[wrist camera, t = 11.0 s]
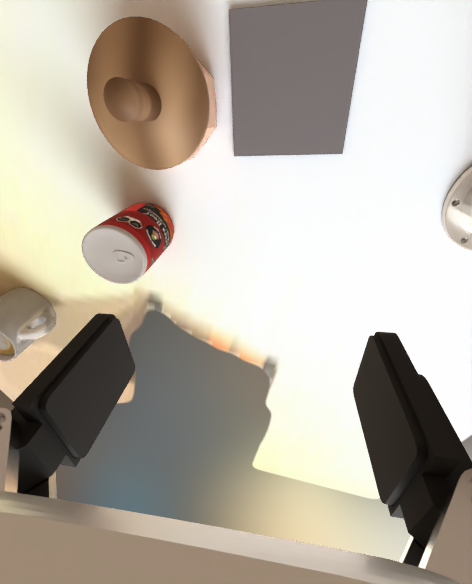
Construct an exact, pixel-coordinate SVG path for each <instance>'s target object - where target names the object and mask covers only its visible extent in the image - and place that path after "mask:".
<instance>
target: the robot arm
mask: <svg viewBox="0 0 472 584" xmlns="http://www.w3.org/2000/svg"><path fill="white" fill-rule="evenodd" d="M453 201H454V202H453ZM442 224H443V228H444V230H445V232H446V234H447V236H448V237H449V238H450V239H451V240H452V241H453V242H455V243H456V244H457V245H459V246H461V247H463V248H466V249H468V250H472V166H471V167H470V168H469V169H468V170H467V171H465V172H464V173H463V174H462V176H461V177H460V178H459V179H458V180H457V181H456V182H455V184H454V185H453V187H452V189H451V190H450V192H449V193H448V195H447V198H446V200H445V202H444V206H443V210H442ZM134 371H135V364H134V361H133V358H132V355H131V352H130V349H129V347H128V344H127V341H126V338H125V335H124V332H123V329H122V327H121V324H120V321H119V319H117V318H116V317H115V316H114V315H113V314H100V313H99V314H96V315H95V316H94V317H93V318H92V319H91V320H90V321H89V322H88V324H87V325H86V326H85V327H84V328H83V329H82V330H81V331H80V332H79V333H78V334H77V335H76V336H75V337H74V338H73V339H72V340H71V342H70V343H69V344H68V345H67V346H66V347H65V348H64V349H63V350H62V351H61V352H60V353H59V354H58V355H57V356H56V357H55V359H54V360H53V361H52V362H51V363H50V364H49V365H48V366H47V367H46V368H45V369H44V370H43V371H42V372H41V373H40V374H39V375H38V377H37V378H36V379H35V380H34V381H33V382H32V383H31V384H30V385H29V386H28V387H27V388H26V389H25V390H24V391H23V392H22V394H21V395H20V396H19V397H18V398H17V399H16V400H15V401H14V402H13V403H12V404H13V405H14V409H13V410H12V411H11V412H10V411H9V410H8V409H5V408H0V584H472V461H471V459H470V458H469V456H468V454H467V452H466V450H465V448H464V447H463V445H462V443H461V441H460V439H459V438H458V436H457V434H456V432H455V430H454V428H453V427H452V425H451V423H450V421H449V419H448V418H447V416H446V414H445V412H444V410H443V408H442V407H441V405H440V403H439V401H438V399H437V397H436V396H435V394H434V392H433V390H432V388H431V387H430V385H429V383H428V381H427V380H426V378H425V377H424V376H422V375H420V374H418V373H417V371H416V369H415V368H414V366H413V364H412V362H411V360H410V358H409V356H408V354H407V352H406V350H405V349H404V347H403V345H402V343H401V341H400V339H399V337H398V336H397V334H395V333H387V332H376V333H375V335H374V336H370V337H369V339H368V342H367V345H366V348H365V351H364V355H363V358H362V361H361V364H360V367H359V370H358V374H357V377H356V380H355V383H354V387H353V393H354V398H355V402H356V406H357V410H358V414H359V418H360V421H361V425H362V429H363V433H364V437H365V441H366V445H367V449H368V453H369V457H370V461H371V464H372V468H373V472H374V476H375V480H376V484H377V488H378V492H379V495H380V499H381V501H382V502H383V503H384V504H388V508H389V512H390V515H391V516H392V517H398V518H404V520H405V523H406V527H407V530H408V533H409V534H410V535H411V536H410V538H409V541H408V543H407V545H406V548H405V550H404V552H403V554H402V556H401V559H400V561H399V562H397V561H393V560H389V559H385V558H379V557H375V556H370V555H365V554H360V553H355V552H350V551H345V550H340V549H335V548H329V547H325V546H320V545H314V544H309V543H303V542H298V541H292V540H287V539H281V538H276V537H270V536H265V535H259V534H254V533H248V532H243V531H237V530H232V529H226V528H220V527H215V526H209V525H204V524H198V523H192V522H186V521H181V520H175V519H169V518H164V517H158V516H153V515H147V514H141V513H135V512H130V511H124V510H118V509H112V508H106V507H101V506H94V505H89V504H83V503H77V502H71V501H65V500H59V499H57V498H56V474H55V471H56V469H57V468H58V466H59V465H60V464H62V465H66V466H72V467H76V466H77V464H78V462H79V461H80V459H81V458H83V457H85V456H86V455H87V453H88V452H89V450H90V448H91V446H92V445H93V443H94V441H95V440H96V438H97V436H98V434H99V433H100V431H101V429H102V427H103V426H104V424H105V422H106V420H107V419H108V417H109V415H110V413H111V412H112V410H113V408H114V407H115V405H116V403H117V402H118V400H119V398H120V396H121V395H122V393H123V391H124V389H125V388H126V386H127V384H128V383H129V381H130V379H131V377H132V376H133V374H134Z"/></svg>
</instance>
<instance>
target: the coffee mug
mask: <svg viewBox="0 0 472 584" xmlns="http://www.w3.org/2000/svg"><path fill="white" fill-rule="evenodd" d="M55 324H56V314H55V311H54V309H53V307H52V306H51V304H50V303H49V302H48V301H47V300H46V299H45V298H44V297H43V296H41V295H40V294H38V293H37V292H35V291H33V290H30V289H27V288H22V287H17V288H13V289H11V290H10V291H8V292H7V293H5V294H4V295H2V296H0V361H11V360H13V359H14V358H16V357H17V356H18V355H19V354H20V353H21V352H22V351H23V350H24V349H26V348H27V347H28V346H29V345H30V344H31V343H32V342H33V341H34V340H36V339H38V338H40V337H42V336H44V335H46V334H47V333H49V332H50V331H51V330H52V329H53V328H54V326H55Z"/></svg>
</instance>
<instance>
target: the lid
mask: <svg viewBox="0 0 472 584" xmlns="http://www.w3.org/2000/svg"><path fill="white" fill-rule="evenodd" d="M87 88H88V96H89V101H90V105H91V108H92V112H93V115H94V117H95V119H96V122H97V124H98V126H99V128H100V130H101V132H102V133H103V135H104V136H105V138H106V139H107V141H108V142H109V143H110V144H111V145H112V147H113V148H114V149H115V150H116V151H117V152H118V153H119V154H121V155H122V156H123V157H124V158H126V159H127V160H129V161H130V162H132V163H134V164H136V165H138V166H141V167H144V168H148V169H155V170H161V169H168V168H172V167H174V166H176V165H179V164H181V163H183V162H184V161H186V160H187V159H188V158H190V157H191V156H192V155H193V154H194V153H195V151H196V150H197V149H198V147H199V146H200V144H201V142H202V140H203V138H204V136H205V133H206V130H207V126H208V121H209V112H210V104H209V93H208V87H207V83H206V79H205V76H204V73H203V71H202V68H201V66H200V64H199V62H198V60H197V58H196V57H195V55H194V53H193V52H192V50H191V49H190V48H189V47H188V45H187V44H186V43H185V42H184V41H183V40H182V39H181V38H180V37H179V36H178V35H177V34H175V33H174V32H173V31H172V30H170V29H169V28H168V27H166V26H165V25H163V24H161V23H159V22H157V21H155V20H152V19H149V18H144V17H128V18H123V19H121V20H118V21H116V22H114V23H113V24H111V25H110V26H108V27H107V28H106V29H105V30H104V31H103V32H102V34H101V35H100V36H99V38H98V39H97V41H96V43H95V45H94V47H93V49H92V52H91V55H90V59H89V64H88V71H87Z"/></svg>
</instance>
